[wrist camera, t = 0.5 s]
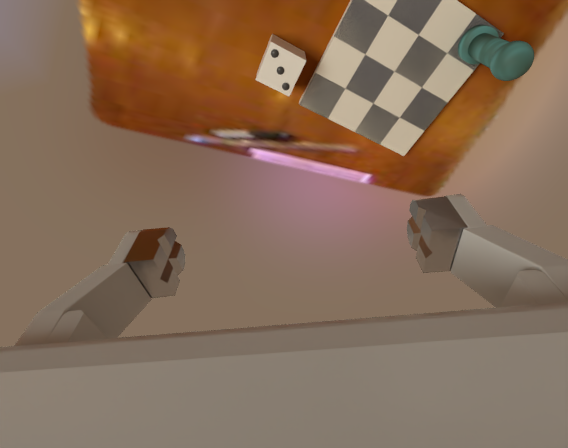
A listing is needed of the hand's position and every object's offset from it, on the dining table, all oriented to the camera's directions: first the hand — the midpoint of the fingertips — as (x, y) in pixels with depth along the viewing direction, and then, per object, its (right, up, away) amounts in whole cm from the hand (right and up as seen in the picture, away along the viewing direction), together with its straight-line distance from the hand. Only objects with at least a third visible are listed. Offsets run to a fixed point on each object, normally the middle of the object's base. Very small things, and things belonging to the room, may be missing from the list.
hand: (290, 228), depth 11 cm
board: (+16, +23, +35) cm, 44 cm away
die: (-1, +24, +34) cm, 41 cm away
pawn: (+26, +24, +31) cm, 47 cm away
